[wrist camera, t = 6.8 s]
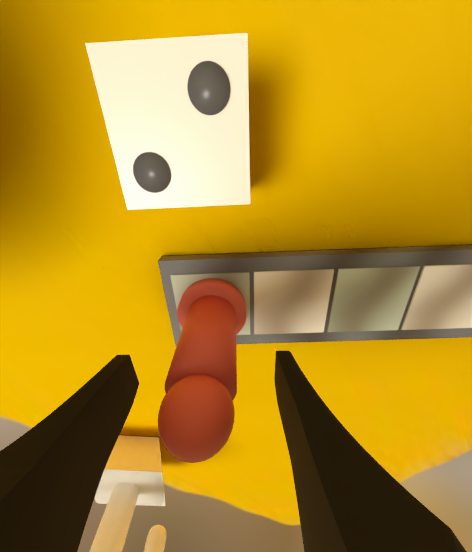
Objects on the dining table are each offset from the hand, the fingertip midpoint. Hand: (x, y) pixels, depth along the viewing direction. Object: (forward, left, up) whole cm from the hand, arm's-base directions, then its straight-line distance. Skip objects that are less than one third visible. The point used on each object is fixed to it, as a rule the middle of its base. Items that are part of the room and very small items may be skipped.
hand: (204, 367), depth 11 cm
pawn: (0, 0, -5) cm, 5 cm away
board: (-8, 0, -6) cm, 10 cm away
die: (0, -10, -6) cm, 12 cm away
